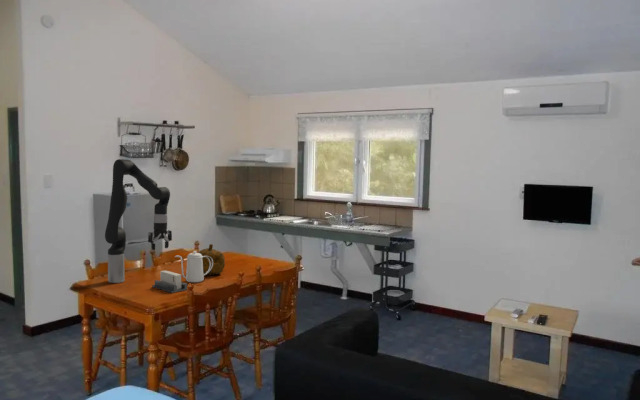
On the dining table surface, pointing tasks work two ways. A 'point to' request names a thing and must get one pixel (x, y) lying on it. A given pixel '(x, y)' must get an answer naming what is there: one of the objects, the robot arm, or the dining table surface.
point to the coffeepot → (195, 267)
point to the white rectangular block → (171, 278)
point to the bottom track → (169, 286)
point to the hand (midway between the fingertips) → (159, 248)
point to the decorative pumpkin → (217, 260)
